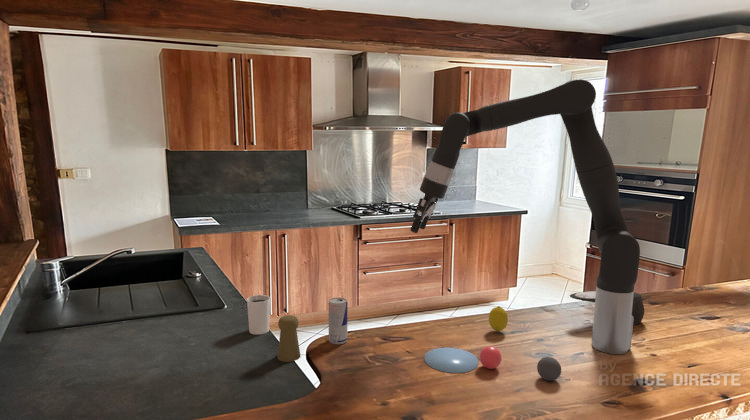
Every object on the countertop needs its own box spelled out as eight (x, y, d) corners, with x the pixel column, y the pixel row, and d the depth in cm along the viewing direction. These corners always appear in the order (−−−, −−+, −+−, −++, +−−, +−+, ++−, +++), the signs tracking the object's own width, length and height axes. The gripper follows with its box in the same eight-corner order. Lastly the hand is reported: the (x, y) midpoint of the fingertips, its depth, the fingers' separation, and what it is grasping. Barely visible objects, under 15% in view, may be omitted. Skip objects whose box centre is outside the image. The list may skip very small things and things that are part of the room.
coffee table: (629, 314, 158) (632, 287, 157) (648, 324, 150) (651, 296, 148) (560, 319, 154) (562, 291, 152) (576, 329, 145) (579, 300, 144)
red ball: (492, 361, 124) (493, 341, 123) (505, 370, 119) (506, 350, 118) (474, 364, 122) (475, 344, 121) (486, 374, 117) (487, 353, 116)
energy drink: (350, 339, 137) (350, 299, 135) (341, 346, 132) (341, 304, 130) (334, 335, 139) (334, 296, 137) (325, 342, 134) (324, 301, 133)
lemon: (505, 328, 146) (506, 303, 144) (508, 336, 140) (510, 310, 139) (487, 327, 146) (488, 302, 145) (489, 335, 141) (490, 309, 140)
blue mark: (460, 345, 134) (460, 344, 134) (489, 367, 121) (489, 366, 121) (415, 352, 129) (415, 352, 129) (440, 376, 116) (440, 376, 116)
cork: (278, 351, 128) (277, 312, 127) (301, 351, 129) (300, 312, 127) (276, 362, 122) (275, 321, 121) (299, 361, 123) (299, 320, 121)
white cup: (259, 337, 138) (258, 303, 136) (243, 331, 141) (241, 299, 140) (275, 329, 143) (274, 297, 142) (259, 324, 147) (258, 293, 145)
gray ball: (549, 372, 119) (550, 351, 118) (565, 382, 113) (567, 361, 113) (531, 376, 117) (532, 354, 116) (547, 386, 112) (548, 364, 111)
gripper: (443, 185, 131) (423, 238, 134) (453, 183, 144) (434, 231, 148) (419, 175, 133) (399, 228, 136) (430, 174, 146) (412, 222, 150)
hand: (417, 230), depth 142 cm, fingers open, 8 cm apart
